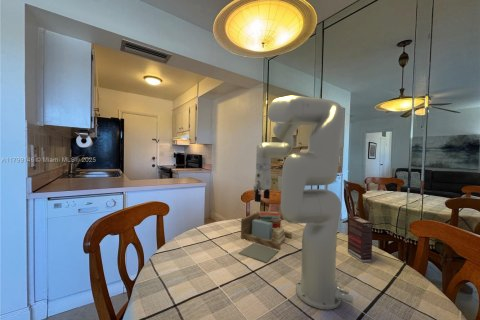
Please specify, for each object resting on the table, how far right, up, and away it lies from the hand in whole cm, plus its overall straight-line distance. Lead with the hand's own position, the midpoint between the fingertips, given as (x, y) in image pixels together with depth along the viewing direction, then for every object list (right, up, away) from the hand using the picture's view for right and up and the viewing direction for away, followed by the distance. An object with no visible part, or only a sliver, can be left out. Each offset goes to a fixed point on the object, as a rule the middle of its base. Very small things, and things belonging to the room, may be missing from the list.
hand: (262, 200), depth 103 cm
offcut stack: (+7, -20, -5) cm, 21 cm away
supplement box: (+39, -20, -19) cm, 48 cm away
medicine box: (+5, -20, +17) cm, 26 cm away
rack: (+1, -19, -2) cm, 19 cm away
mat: (-3, -19, -18) cm, 26 cm away
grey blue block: (0, -19, 0) cm, 19 cm away
